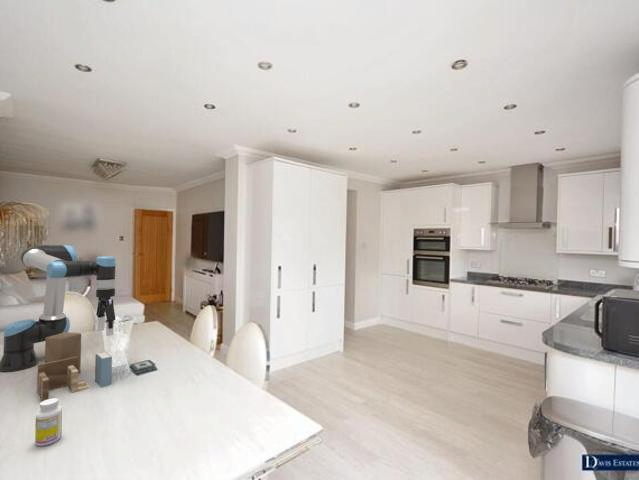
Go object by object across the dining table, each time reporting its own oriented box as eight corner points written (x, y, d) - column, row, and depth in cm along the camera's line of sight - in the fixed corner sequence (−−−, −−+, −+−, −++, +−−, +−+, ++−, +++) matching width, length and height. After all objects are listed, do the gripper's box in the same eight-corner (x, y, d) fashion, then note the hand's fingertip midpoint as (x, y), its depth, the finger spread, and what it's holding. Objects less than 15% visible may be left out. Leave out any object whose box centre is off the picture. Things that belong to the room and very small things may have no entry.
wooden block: (60, 381, 148) (61, 338, 148) (43, 379, 150) (44, 337, 150) (80, 373, 158) (81, 333, 158) (64, 371, 160) (65, 331, 160)
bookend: (66, 386, 143) (67, 366, 143) (83, 381, 148) (83, 362, 148) (72, 392, 137) (72, 372, 137) (88, 388, 141) (89, 368, 141)
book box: (94, 381, 149) (95, 353, 149) (104, 378, 152) (105, 351, 152) (101, 387, 142) (101, 358, 142) (111, 384, 145) (112, 356, 145)
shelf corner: (37, 392, 137) (37, 364, 137) (76, 381, 147) (77, 356, 148) (42, 403, 127) (43, 374, 127) (84, 391, 138) (85, 364, 138)
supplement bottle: (45, 434, 107) (46, 396, 107) (66, 434, 107) (67, 396, 107) (29, 447, 100) (30, 406, 100) (51, 446, 100) (52, 406, 101)
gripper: (89, 287, 156) (88, 330, 155) (104, 291, 139) (104, 339, 139) (106, 285, 161) (106, 327, 161) (123, 289, 145) (123, 335, 144)
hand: (105, 333), depth 150 cm, fingers open, 13 cm apart
